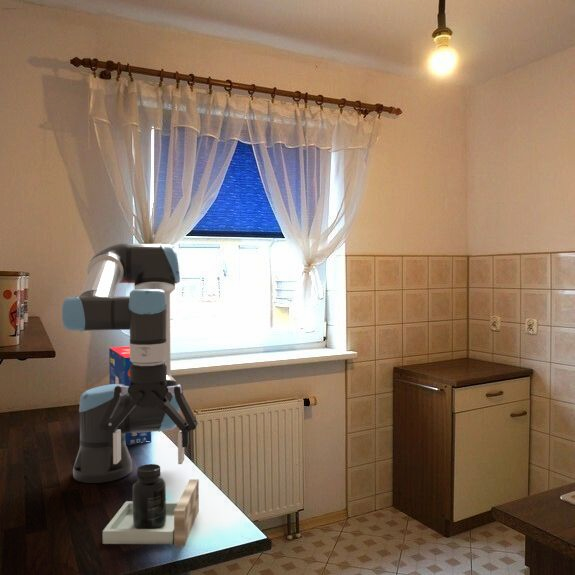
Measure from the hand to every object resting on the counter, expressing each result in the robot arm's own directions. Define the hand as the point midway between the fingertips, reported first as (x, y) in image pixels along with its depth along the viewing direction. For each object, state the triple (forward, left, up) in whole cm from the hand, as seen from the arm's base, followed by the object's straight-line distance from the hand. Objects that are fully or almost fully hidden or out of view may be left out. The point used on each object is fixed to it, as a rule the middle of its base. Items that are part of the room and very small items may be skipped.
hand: (149, 462), depth 111 cm
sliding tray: (+1, 0, -14) cm, 14 cm away
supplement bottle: (0, 0, -13) cm, 13 cm away
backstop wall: (0, +8, -14) cm, 16 cm away
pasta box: (-68, -25, -14) cm, 74 cm away
